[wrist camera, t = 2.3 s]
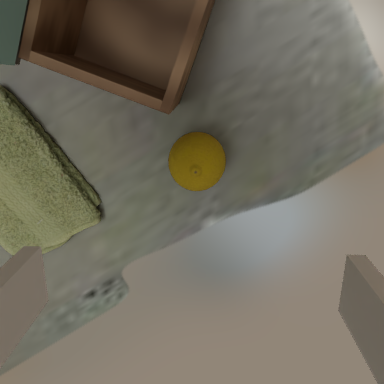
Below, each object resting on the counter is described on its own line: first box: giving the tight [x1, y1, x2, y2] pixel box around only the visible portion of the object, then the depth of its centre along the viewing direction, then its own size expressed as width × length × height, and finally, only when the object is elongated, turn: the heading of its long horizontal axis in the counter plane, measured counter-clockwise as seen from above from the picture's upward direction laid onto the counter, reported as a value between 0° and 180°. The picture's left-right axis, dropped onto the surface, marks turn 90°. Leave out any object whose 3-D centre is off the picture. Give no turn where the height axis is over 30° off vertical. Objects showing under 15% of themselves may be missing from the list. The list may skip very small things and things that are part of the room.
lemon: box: [168, 132, 226, 191], centre depth 36 cm, size 6×6×8 cm
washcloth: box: [0, 85, 101, 256], centre depth 40 cm, size 13×18×3 cm
